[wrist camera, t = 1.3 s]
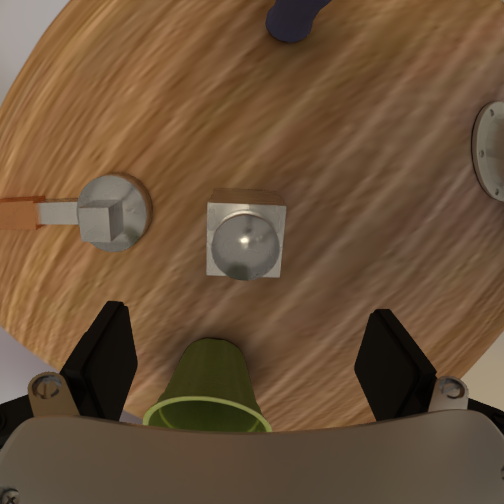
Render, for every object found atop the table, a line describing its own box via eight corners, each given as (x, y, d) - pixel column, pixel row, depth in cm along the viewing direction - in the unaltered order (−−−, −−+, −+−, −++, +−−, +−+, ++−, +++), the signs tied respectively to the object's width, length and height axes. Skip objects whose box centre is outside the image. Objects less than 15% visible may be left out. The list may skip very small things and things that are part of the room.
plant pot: (185, 302, 31) (165, 377, 20) (282, 343, 34) (298, 420, 23) (150, 372, 34) (130, 443, 24) (235, 404, 37) (236, 474, 26)
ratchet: (152, 171, 26) (132, 180, 21) (154, 244, 29) (136, 267, 23) (-4, 182, 25) (-36, 192, 20) (3, 239, 27) (-26, 256, 22)
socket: (275, 190, 27) (290, 211, 20) (270, 248, 29) (282, 287, 22) (214, 188, 27) (205, 207, 19) (212, 245, 29) (204, 284, 21)
